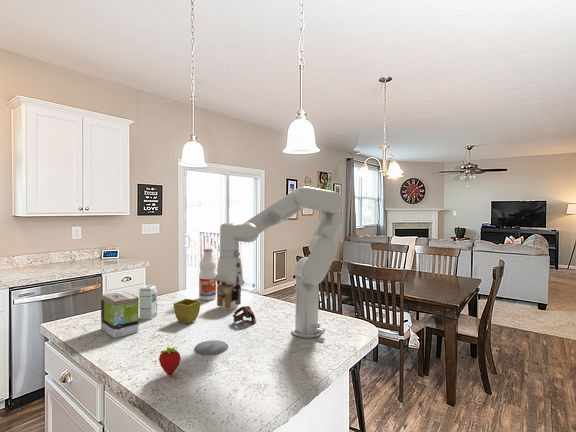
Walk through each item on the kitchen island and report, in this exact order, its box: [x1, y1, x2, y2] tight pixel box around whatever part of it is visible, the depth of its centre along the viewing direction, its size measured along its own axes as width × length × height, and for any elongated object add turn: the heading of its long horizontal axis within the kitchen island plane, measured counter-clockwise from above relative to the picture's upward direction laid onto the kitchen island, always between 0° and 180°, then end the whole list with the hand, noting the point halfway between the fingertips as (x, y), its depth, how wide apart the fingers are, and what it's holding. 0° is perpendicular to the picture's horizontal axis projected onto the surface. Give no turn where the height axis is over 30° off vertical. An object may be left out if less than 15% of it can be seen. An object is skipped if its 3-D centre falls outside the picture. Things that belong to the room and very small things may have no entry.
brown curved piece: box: [232, 305, 257, 325], centre depth 152 cm, size 12×10×8 cm
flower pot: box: [173, 298, 202, 324], centre depth 151 cm, size 9×9×9 cm
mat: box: [194, 339, 229, 356], centre depth 124 cm, size 12×12×1 cm
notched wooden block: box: [216, 283, 242, 308], centre depth 134 cm, size 6×8×8 cm
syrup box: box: [138, 284, 158, 320], centre depth 156 cm, size 6×6×14 cm
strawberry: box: [158, 344, 182, 377], centre depth 103 cm, size 6×8×10 cm
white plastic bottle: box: [198, 248, 217, 302], centre depth 189 cm, size 9×9×28 cm
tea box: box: [100, 291, 140, 339], centre depth 139 cm, size 15×10×15 cm
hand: (229, 298), depth 134 cm, fingers closed on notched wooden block, 6 cm apart
